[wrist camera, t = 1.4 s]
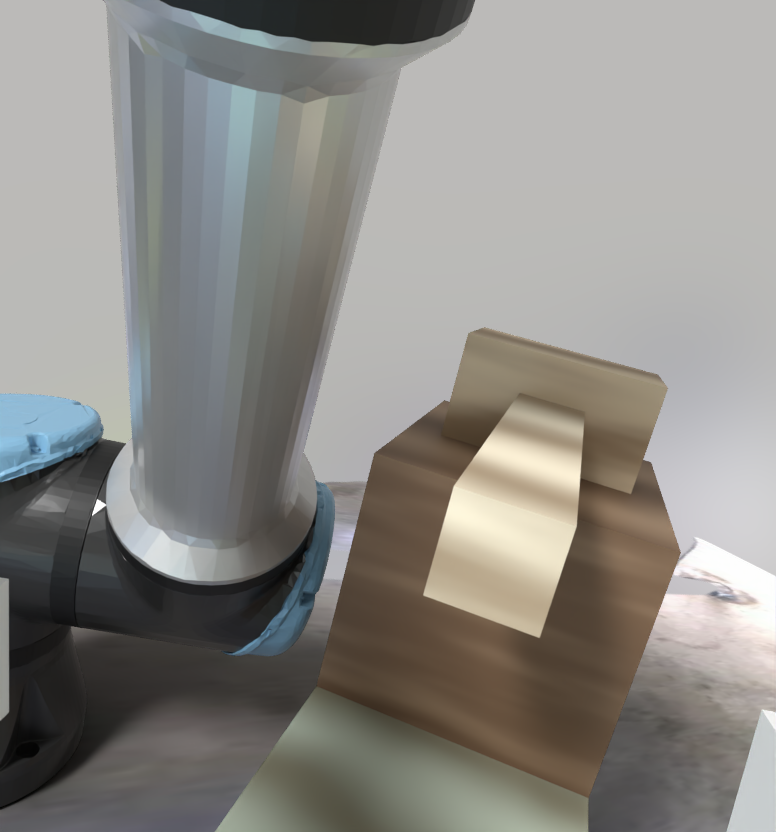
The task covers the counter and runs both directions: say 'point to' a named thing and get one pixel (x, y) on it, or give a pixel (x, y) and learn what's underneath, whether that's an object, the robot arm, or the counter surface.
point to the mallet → (532, 468)
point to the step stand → (464, 669)
